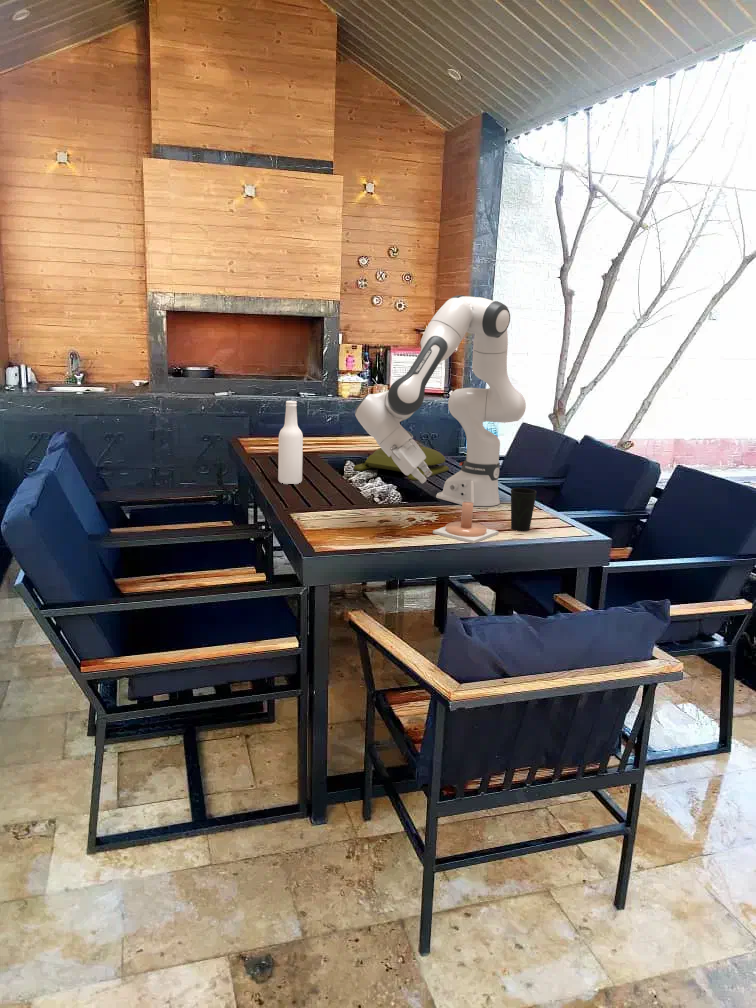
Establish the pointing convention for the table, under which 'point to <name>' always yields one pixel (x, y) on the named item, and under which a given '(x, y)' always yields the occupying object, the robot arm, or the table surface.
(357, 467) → the green turtle
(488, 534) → the mat
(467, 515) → the lid
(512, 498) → the cup
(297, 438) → the alcohol
